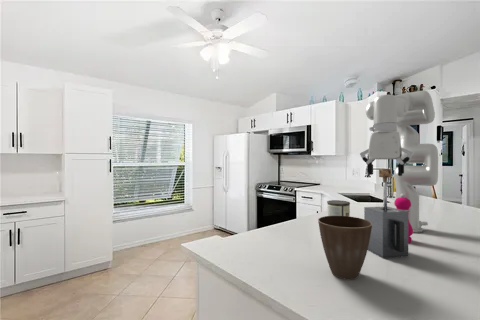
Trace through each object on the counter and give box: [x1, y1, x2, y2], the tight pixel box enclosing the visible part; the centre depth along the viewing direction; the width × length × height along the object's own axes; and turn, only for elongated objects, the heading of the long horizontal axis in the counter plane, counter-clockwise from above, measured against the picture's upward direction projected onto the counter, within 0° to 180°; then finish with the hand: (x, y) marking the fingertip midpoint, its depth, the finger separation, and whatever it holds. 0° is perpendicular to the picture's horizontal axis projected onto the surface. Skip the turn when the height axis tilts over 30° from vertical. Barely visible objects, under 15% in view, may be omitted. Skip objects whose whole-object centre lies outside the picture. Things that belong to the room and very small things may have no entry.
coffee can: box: [326, 199, 351, 217], centre depth 120 cm, size 10×10×14 cm
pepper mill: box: [393, 194, 414, 244], centre depth 105 cm, size 7×7×20 cm
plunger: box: [378, 168, 393, 210], centre depth 92 cm, size 7×7×17 cm
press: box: [363, 205, 409, 259], centre depth 90 cm, size 10×13×16 cm
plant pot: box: [317, 215, 372, 280], centre depth 74 cm, size 15×15×16 cm
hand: (385, 175), depth 92 cm, fingers open, 9 cm apart
